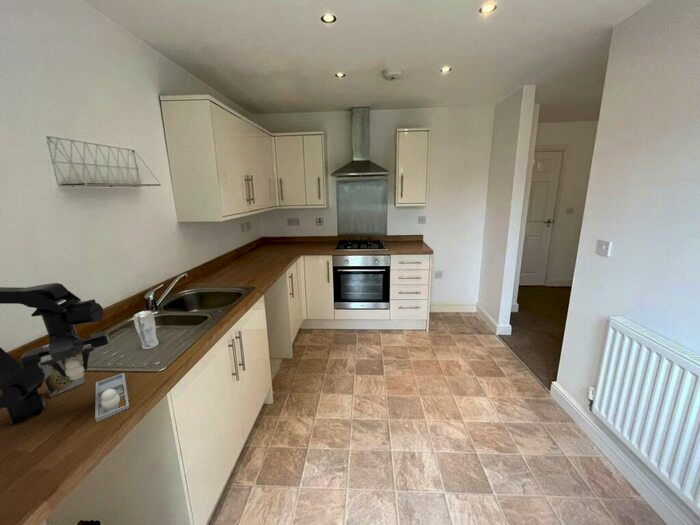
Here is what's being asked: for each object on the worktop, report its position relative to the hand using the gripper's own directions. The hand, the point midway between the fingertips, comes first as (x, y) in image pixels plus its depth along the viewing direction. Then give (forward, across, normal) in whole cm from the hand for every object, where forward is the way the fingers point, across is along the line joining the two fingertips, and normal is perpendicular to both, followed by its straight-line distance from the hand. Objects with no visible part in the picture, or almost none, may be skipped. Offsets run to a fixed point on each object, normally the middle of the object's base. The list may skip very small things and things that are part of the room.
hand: (76, 372), depth 89 cm
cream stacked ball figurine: (+1, 0, 0) cm, 1 cm away
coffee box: (+12, -6, +17) cm, 21 cm away
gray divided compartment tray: (+11, +6, -2) cm, 13 cm away
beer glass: (+12, +19, +30) cm, 37 cm away
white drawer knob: (+11, +7, -9) cm, 16 cm away
